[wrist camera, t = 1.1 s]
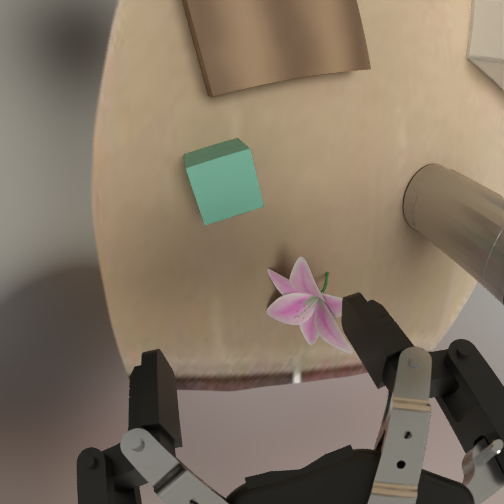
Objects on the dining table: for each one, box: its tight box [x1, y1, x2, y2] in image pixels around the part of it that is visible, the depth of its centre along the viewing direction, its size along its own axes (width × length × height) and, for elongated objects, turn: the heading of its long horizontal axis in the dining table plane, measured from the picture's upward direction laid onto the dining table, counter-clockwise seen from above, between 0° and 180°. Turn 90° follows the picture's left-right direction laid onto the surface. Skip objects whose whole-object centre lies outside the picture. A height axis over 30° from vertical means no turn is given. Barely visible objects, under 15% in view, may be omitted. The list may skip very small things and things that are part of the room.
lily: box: [267, 257, 353, 354], centre depth 34 cm, size 12×12×10 cm
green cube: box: [184, 138, 264, 225], centre depth 26 cm, size 5×5×5 cm
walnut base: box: [182, 0, 371, 97], centre depth 19 cm, size 14×14×4 cm
